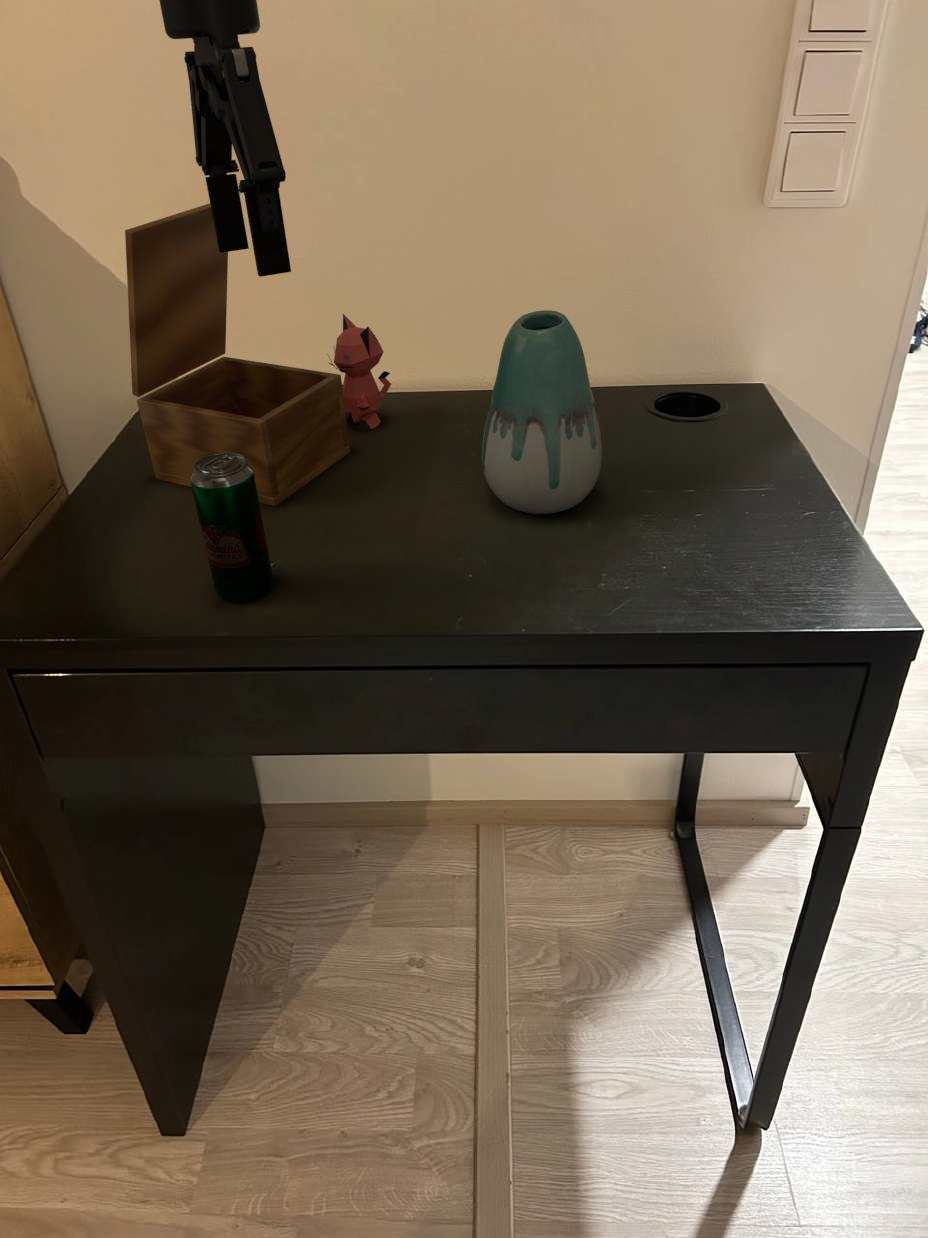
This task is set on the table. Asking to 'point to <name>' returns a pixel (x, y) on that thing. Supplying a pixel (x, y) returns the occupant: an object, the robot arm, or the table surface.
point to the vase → (542, 419)
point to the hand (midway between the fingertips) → (253, 261)
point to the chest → (248, 423)
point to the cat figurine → (360, 374)
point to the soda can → (232, 526)
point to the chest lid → (175, 297)
